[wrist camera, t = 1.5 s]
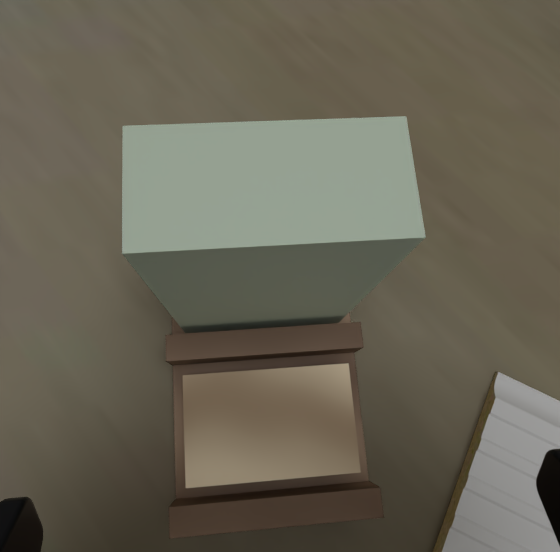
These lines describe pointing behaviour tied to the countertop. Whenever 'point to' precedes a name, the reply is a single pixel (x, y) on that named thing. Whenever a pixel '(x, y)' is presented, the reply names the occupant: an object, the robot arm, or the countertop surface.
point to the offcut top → (269, 425)
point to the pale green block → (267, 217)
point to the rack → (277, 493)
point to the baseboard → (504, 475)
